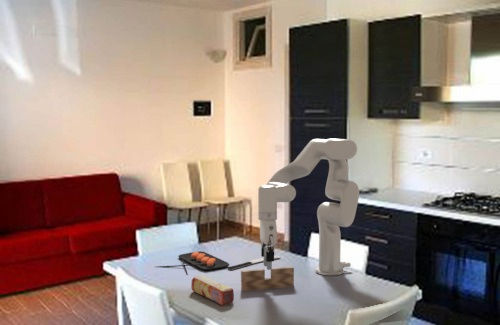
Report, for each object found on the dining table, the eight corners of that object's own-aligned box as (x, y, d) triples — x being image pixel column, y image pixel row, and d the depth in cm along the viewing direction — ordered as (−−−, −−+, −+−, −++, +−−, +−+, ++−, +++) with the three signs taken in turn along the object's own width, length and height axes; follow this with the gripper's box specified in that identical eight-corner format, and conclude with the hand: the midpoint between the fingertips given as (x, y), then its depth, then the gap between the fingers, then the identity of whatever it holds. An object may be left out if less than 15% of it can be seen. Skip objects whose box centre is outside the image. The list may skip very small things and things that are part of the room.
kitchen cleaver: (268, 253, 267) (281, 255, 260) (268, 256, 267) (282, 258, 260) (219, 265, 247) (232, 267, 239) (219, 269, 247) (232, 271, 239)
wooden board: (292, 285, 220) (292, 266, 219) (293, 286, 219) (293, 267, 218) (241, 289, 215) (241, 270, 214) (242, 291, 213) (242, 271, 213)
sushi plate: (231, 268, 246) (231, 260, 246) (173, 280, 229) (173, 271, 229) (202, 254, 270) (201, 247, 270) (146, 264, 253) (146, 256, 253)
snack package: (235, 303, 200) (235, 286, 200) (221, 307, 196) (221, 290, 196) (203, 289, 217) (203, 272, 216) (190, 292, 213) (190, 276, 212)
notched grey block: (263, 265, 219) (263, 246, 218) (267, 264, 219) (267, 246, 218) (267, 269, 213) (267, 250, 212) (271, 269, 213) (271, 250, 212)
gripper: (283, 219, 206) (282, 264, 208) (270, 211, 223) (270, 252, 225) (264, 220, 204) (264, 265, 206) (253, 212, 221) (253, 253, 223)
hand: (267, 258), depth 216 cm, fingers closed on notched grey block, 6 cm apart
